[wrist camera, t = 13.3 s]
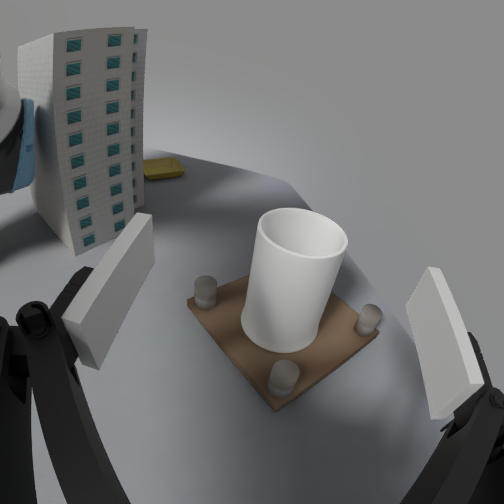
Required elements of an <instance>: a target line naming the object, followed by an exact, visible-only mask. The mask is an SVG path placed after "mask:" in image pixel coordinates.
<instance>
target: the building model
mask: <svg viewBox="0 0 504 504" xmlns="http://www.w3.org/2000/svg"><path fill="white" fill-rule="evenodd" d="M147 30H148V29H135V27H112V28H96V29H85V30H75V31H66V32H58V33H53V34H50V35H47V36H45V37H42V38H39V39H37V40H35V41H32V42H30V43H27V44H25V45H22V46H20V47H18V92H19V95H20V98H21V99H22V98H26V99H32V100H33V101H34V155H35V178H34V180H33V182H32V183H31V184H30V190H31V195H32V200H33V205H34V208H35V209H36V210H37V211H38V213H39V214H40V215H41V216H42V218H43V219H44V220H45V221H46V223H47V224H48V225H49V226H50V227H51V229H52V230H53V231H54V232H55V233H56V235H57V236H58V237H59V238H60V239H61V240H62V242H63V243H64V244H65V245H66V246H67V247H68V249H69V250H70V251H71V252H72V253H73V254H74V255H75V256H78V255H80V254H82V253H84V252H86V251H88V250H90V249H92V248H94V247H96V246H98V245H100V244H102V243H104V242H106V241H109V240H111V239H113V238H115V237H117V236H119V235H120V233H121V232H122V231H123V229H124V228H125V227H126V226H127V224H128V223H129V222H130V221H131V219H132V218H133V217H134V209H136V208H138V207H141V206H143V205H145V200H144V175H143V97H144V73H145V72H144V71H145V55H146V41H147Z"/></svg>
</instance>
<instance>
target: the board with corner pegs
mask: <svg viewBox="0 0 504 504" xmlns="http://www.w3.org/2000/svg"><path fill="white" fill-rule="evenodd" d="M249 277H250V275H248V276H245V277H243V278H240V279H238V280H235V281H233V282H230V283H228V284H225V285H223V286H220V287H218V288H217V281H216V280H215V279H214V278H212V277H210V276H201V277H199V278H197V279H196V280H195V297H192V298H189V299H187V306H188V307H189V308H190V310H191V311H192V312H193V314H194V315H195V316H196V317H197V319H198V320H199V321H200V323H201V324H202V325H203V326H204V328H205V329H206V330H207V331H208V333H209V334H210V335H211V336H212V338H213V339H214V340H215V341H216V343H217V344H218V345H219V346H220V348H221V349H222V350H223V351H224V352H225V354H226V355H227V356H228V357H229V358H230V360H231V361H232V362H233V363H234V364H235V366H236V367H237V368H238V369H239V370H240V372H241V373H242V374H243V375H244V376H245V377H246V379H247V380H248V381H249V382H250V383H251V384H252V386H253V387H254V388H255V389H256V390H257V391H258V392H259V394H260V395H261V396H262V397H263V398H264V399H265V400H266V402H267V403H268V404H269V405H270V406H271V407H272V408H273V409H274V410H275V412H276V411H277V410H279V409H280V408H282V407H284V406H285V405H287V404H288V403H289V402H291V401H292V400H294V399H295V398H297V397H298V396H300V395H301V394H303V393H304V392H305V391H307V390H308V389H310V388H311V387H313V386H314V385H315V384H317V383H318V382H319V381H321V380H322V379H324V378H325V377H326V376H328V375H329V374H330V373H332V372H333V371H334V370H336V369H337V368H338V367H340V366H341V365H342V364H344V363H345V362H346V361H347V360H349V359H350V358H351V357H352V356H354V355H355V354H356V353H357V352H359V351H360V350H361V349H362V348H364V347H365V346H366V345H367V344H369V343H370V342H371V341H372V340H373V339H375V338H376V337H377V335H378V333H379V331H378V330H377V329H376V326H377V324H378V323H379V321H380V319H381V317H382V311H381V310H380V308H378V307H377V306H375V305H373V304H366V305H364V306H363V308H362V310H361V312H360V314H358V313H357V312H356V311H354V310H353V309H352V308H351V307H349V306H348V305H347V304H346V303H345V302H343V301H342V300H341V299H340V298H339V297H337V296H336V295H335V294H334V293H332V292H331V293H330V296H329V298H328V301H327V304H326V306H325V309H324V312H323V314H322V317H321V319H320V322H319V325H318V332H317V335H316V338H315V339H314V341H313V342H312V343H311V344H310V345H309V346H307V347H306V348H304V349H302V350H300V351H297V352H292V353H277V352H272V351H269V350H266V349H264V348H262V347H260V346H258V345H256V344H255V343H254V342H252V341H251V340H250V339H249V338H248V336H247V335H246V334H245V332H244V330H243V328H242V325H241V314H242V310H243V308H244V306H245V302H246V296H247V290H248V284H249Z"/></svg>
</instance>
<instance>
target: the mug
mask: <svg viewBox="0 0 504 504" xmlns="http://www.w3.org/2000/svg"><path fill="white" fill-rule="evenodd" d="M347 245H348V238H347V235H346V233H345V232H344V230H343V229H342V228H341V227H340V226H339V225H338V224H337V223H335V222H334V221H333V220H331V219H329V218H328V217H326V216H324V215H321V214H319V213H316V212H313V211H310V210H305V209H300V208H278V209H274V210H271V211H268V212H266V213H265V214H263V215H262V216H261V218H260V219H259V222H258V226H257V233H256V239H255V245H254V252H253V258H252V265H251V271H250V277H249V284H248V290H247V296H246V302H245V306H244V308H243V310H242V314H241V325H242V328H243V330H244V332H245V334H246V335H247V336H248V338H249V339H250V340H251V341H252V342H254V343H255V344H256V345H258V346H260V347H262V348H264V349H266V350H269V351H272V352H277V353H292V352H297V351H300V350H302V349H304V348H306V347H307V346H309V345H310V344H311V343H312V342H313V341H314V339H315V338H316V335H317V332H318V325H319V322H320V319H321V317H322V314H323V312H324V309H325V306H326V304H327V301H328V298H329V296H330V293H331V291H332V288H333V285H334V282H335V280H336V277H337V274H338V271H339V269H340V266H341V263H342V260H343V257H344V254H345V251H346V248H347Z"/></svg>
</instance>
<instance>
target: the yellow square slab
mask: <svg viewBox="0 0 504 504" xmlns="http://www.w3.org/2000/svg"><path fill="white" fill-rule="evenodd" d="M143 172H144V174H145V176H146V178H147V179H149V180H155V179H163V178H171V177H179V176H180V175H182V174H183V173H184V172H185V169H184V167H183V166H182V165H181V164H180V163H179V161H178V160H177V159H176V158H175V157H169V158H159V159H151V160H143Z"/></svg>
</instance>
